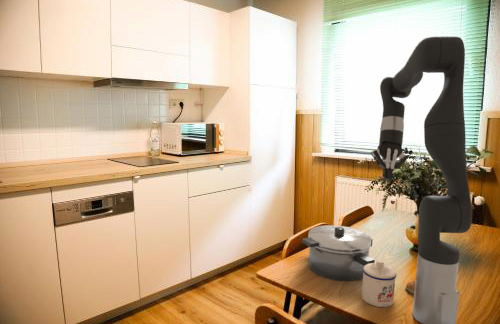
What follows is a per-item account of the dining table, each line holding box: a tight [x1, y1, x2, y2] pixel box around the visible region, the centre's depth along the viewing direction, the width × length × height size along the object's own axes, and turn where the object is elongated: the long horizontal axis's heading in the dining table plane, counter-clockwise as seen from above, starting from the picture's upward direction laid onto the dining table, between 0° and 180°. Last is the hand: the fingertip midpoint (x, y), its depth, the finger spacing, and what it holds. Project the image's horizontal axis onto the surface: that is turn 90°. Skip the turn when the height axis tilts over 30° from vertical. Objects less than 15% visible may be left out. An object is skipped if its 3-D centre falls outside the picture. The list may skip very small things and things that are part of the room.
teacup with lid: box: [361, 260, 397, 308], centre depth 98 cm, size 12×9×12 cm
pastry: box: [405, 280, 416, 295], centre depth 103 cm, size 9×7×4 cm
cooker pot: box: [308, 228, 376, 282], centre depth 118 cm, size 31×23×10 cm
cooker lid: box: [301, 224, 372, 252], centre depth 116 cm, size 21×24×4 cm
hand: (387, 179), depth 116 cm, fingers closed
